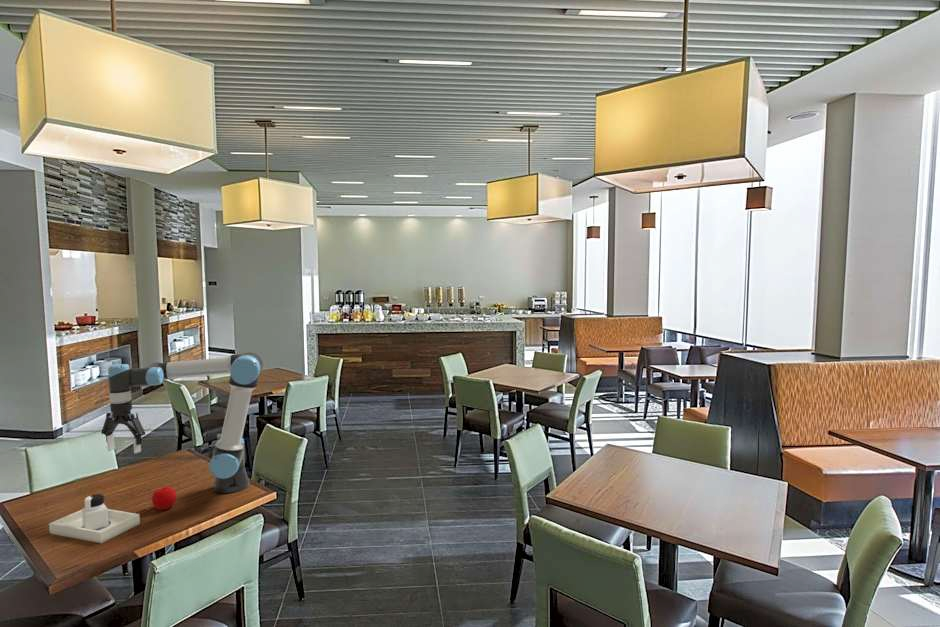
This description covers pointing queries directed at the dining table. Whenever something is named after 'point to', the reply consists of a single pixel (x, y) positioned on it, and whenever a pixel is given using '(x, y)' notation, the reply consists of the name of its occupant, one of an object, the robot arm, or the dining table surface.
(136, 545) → the dining table surface
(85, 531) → the tray
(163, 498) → the fruit
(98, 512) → the medicine bottle
